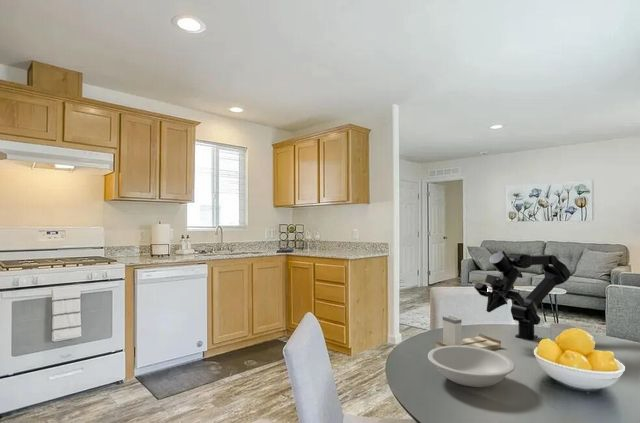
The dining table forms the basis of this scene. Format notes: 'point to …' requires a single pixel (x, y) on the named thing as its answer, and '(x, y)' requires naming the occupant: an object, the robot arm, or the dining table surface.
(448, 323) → the cream rectangular box
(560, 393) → the dining table surface
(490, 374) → the soup bowl
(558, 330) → the white cup
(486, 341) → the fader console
